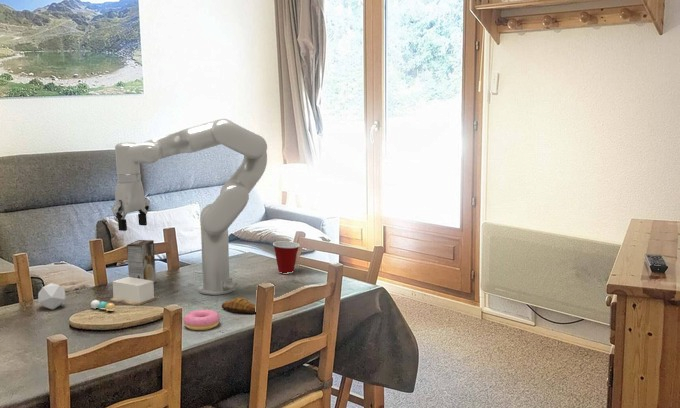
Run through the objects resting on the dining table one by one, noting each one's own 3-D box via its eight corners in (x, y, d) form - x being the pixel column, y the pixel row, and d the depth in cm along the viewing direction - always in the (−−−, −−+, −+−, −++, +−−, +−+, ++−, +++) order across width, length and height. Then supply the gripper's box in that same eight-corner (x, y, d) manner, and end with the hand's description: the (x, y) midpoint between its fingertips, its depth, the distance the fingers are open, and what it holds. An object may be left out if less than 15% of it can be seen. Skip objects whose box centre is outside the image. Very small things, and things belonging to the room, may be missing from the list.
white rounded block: (154, 297, 230) (153, 280, 229) (139, 303, 223) (138, 285, 223) (128, 293, 235) (127, 276, 234) (113, 298, 229) (112, 281, 228)
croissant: (216, 312, 216) (215, 297, 215) (228, 306, 222) (227, 291, 221) (251, 317, 210) (251, 302, 210) (263, 311, 216) (262, 296, 216)
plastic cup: (299, 276, 259) (298, 246, 257) (271, 276, 259) (271, 246, 257) (301, 269, 270) (300, 240, 268) (274, 269, 270) (274, 240, 268)
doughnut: (176, 325, 203) (176, 312, 202) (207, 317, 210) (207, 305, 210) (196, 334, 195) (195, 321, 194) (227, 325, 203) (227, 312, 202)
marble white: (102, 308, 220) (102, 299, 219) (95, 310, 217) (94, 301, 217) (96, 306, 221) (95, 298, 221) (88, 309, 219) (88, 300, 218)
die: (71, 308, 221) (69, 282, 226) (54, 303, 214) (52, 275, 218) (50, 316, 223) (49, 289, 227) (32, 311, 215) (31, 283, 219)
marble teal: (110, 309, 218) (109, 300, 218) (102, 312, 216) (102, 303, 215) (103, 308, 220) (102, 299, 219) (96, 310, 217) (95, 302, 216)
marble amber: (117, 311, 217) (116, 302, 216) (110, 313, 214) (109, 304, 214) (110, 309, 218) (110, 301, 218) (103, 312, 215) (103, 303, 215)
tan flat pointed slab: (157, 298, 230) (157, 297, 230) (138, 305, 222) (137, 304, 222) (129, 293, 236) (129, 292, 236) (110, 300, 228) (110, 298, 228)
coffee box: (140, 280, 254) (138, 239, 251) (156, 281, 252) (154, 240, 250) (128, 287, 245) (126, 244, 242) (144, 287, 244) (142, 245, 241)
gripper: (138, 175, 236) (142, 222, 239) (102, 181, 221) (106, 232, 224) (154, 176, 233) (158, 223, 236) (118, 182, 218) (123, 233, 221)
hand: (133, 227), depth 230 cm, fingers open, 9 cm apart
